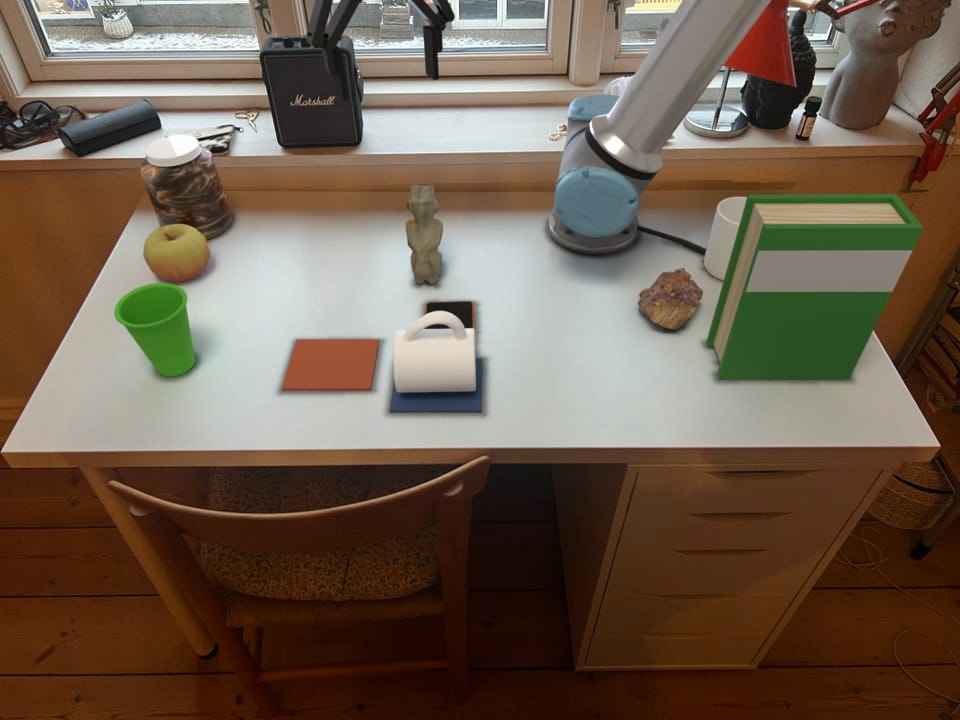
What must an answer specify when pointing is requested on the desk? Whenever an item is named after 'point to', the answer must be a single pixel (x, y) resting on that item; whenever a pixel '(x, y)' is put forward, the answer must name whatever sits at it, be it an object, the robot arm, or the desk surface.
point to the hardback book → (808, 284)
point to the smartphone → (453, 312)
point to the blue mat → (440, 399)
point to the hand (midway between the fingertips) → (388, 86)
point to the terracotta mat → (331, 364)
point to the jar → (185, 185)
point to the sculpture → (424, 234)
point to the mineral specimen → (671, 299)
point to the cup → (159, 326)
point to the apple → (176, 252)
